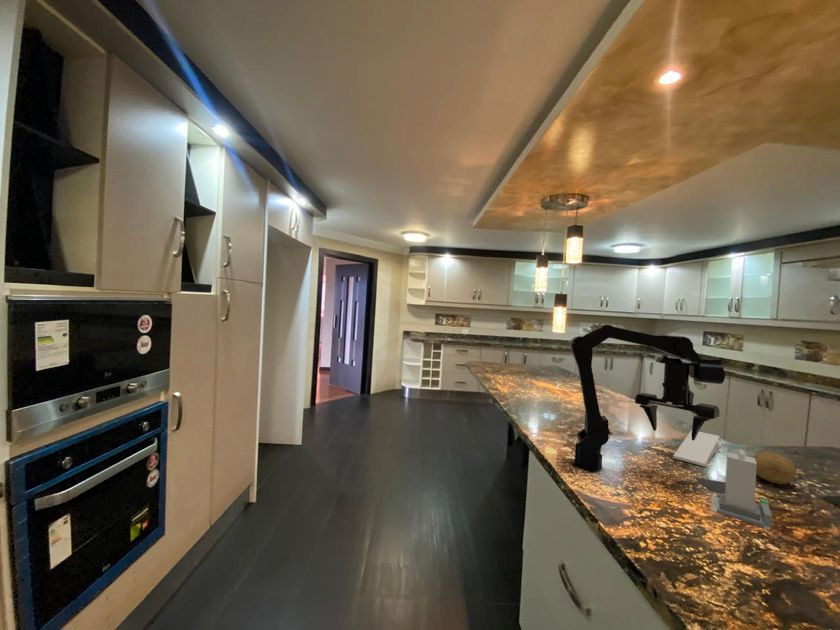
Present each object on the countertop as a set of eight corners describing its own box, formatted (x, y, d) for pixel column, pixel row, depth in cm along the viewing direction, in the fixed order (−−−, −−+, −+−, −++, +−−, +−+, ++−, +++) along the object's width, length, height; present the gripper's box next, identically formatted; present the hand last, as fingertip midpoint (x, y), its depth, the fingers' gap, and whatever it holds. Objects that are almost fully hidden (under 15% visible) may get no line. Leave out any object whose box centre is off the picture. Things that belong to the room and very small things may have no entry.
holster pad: (710, 492, 94) (710, 491, 94) (694, 478, 103) (694, 477, 103) (751, 499, 92) (751, 498, 92) (731, 484, 101) (731, 483, 101)
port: (711, 512, 84) (712, 497, 84) (711, 496, 92) (712, 483, 92) (771, 530, 77) (772, 515, 77) (765, 511, 86) (766, 497, 86)
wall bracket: (703, 486, 112) (718, 455, 131) (711, 467, 110) (725, 438, 129) (667, 468, 119) (686, 441, 137) (674, 449, 117) (692, 424, 136)
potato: (790, 478, 107) (791, 452, 107) (801, 495, 96) (802, 466, 96) (746, 468, 113) (748, 444, 113) (752, 483, 102) (753, 455, 102)
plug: (719, 509, 85) (722, 450, 85) (719, 499, 90) (722, 444, 90) (760, 521, 80) (763, 459, 80) (757, 509, 85) (760, 452, 86)
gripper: (725, 384, 98) (723, 440, 98) (649, 373, 113) (647, 422, 112) (714, 387, 91) (712, 447, 91) (635, 375, 106) (632, 427, 106)
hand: (673, 435), depth 100 cm, fingers open, 9 cm apart
